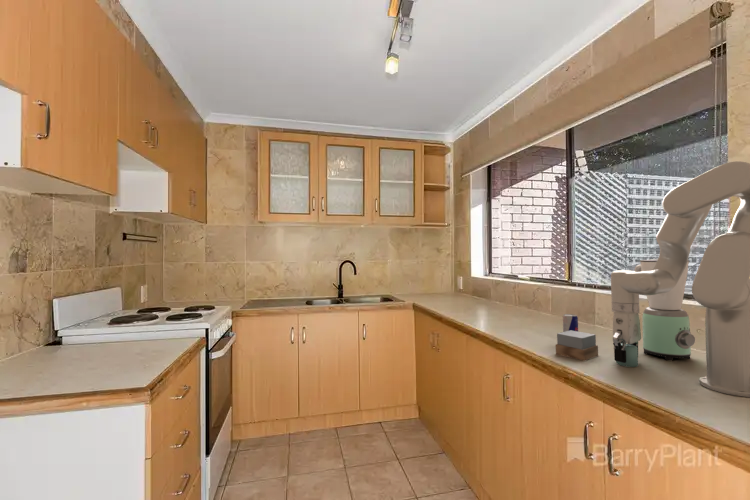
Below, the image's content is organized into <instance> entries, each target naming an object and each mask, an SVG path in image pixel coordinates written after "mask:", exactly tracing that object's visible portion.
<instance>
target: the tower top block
mask: <svg viewBox="0 0 750 500" xmlns="http://www.w3.org/2000/svg"><path fill="white" fill-rule="evenodd" d="M596 336H597V335H596V334H594V333H590V332H589V333H588V332H583V331H579V330H578V331H572V330H570V331H565V332H563V331H562V332H557V333H556V342H557V343H556V344H558V345H563V346H567V347H572V348H577V349H581V350H583V349H587V348H590V347H593V346H596V345H597V338H596Z"/></svg>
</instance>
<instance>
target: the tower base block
mask: <svg viewBox="0 0 750 500" xmlns="http://www.w3.org/2000/svg"><path fill="white" fill-rule="evenodd" d="M555 355H557V356H562V357H567V358H571V359H575V360H580V361H584V362H585V361H587V360H590V359H593V358H595V357H598V356H599V346H598V344H596V346H593V347H590V348H587V349H583V350H581V349H577V348H572V347H567V346H563V345H558V344H557V343H556V344H555Z"/></svg>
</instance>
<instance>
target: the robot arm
mask: <svg viewBox="0 0 750 500" xmlns="http://www.w3.org/2000/svg"><path fill="white" fill-rule="evenodd" d="M731 197H736V198H739V199H740V204H739V207H738V208H737V210H736V212H735V214H734V216H733V218H732V222H731V224H730V227H729V229H728V231H727V232H726V233H724V234H720V235H717V236H716V237H715V238H713V239H712V240H711V242H709V244H708V245H707V247H706V248H705V250H704V252H703V255H702V257H701V261H700V262H699V265H698V269H697V271H696V273H695V275H694V279H693V282H692V285H691V294H692V296H693V298H694V299H695V301H696V302H697V303H698V304H699V305H701V306H702V307H704V308H705V317H704V318H705V319H704V321H705V324H704V325H705V330H704V331H705V359H706V361H705V363H706V375H705V376H701V377H699V384H700V385H701V386H703V387H705V388H706V389H709V390H711V391H715V392H719V393H722V394H727V395H730V396H738V397H742V398H743V397H745V398H750V162H747V161H729V162H726V163H723V164H720V165H718V166H715V167H713V168H712V169H710V170H708V171H705V172H703V173H701V174H700V175H698V176H696V177H694V178H692V179H689V180H687V181H686V182H683V183H681V184H680V185H678V186H676V187H674V188H672V189H671V190H669V191H668V192H667V193H666V195H665V196H664V197H663V199H662V209H663V211H664V212H665V213H666V215H665V218H664V220H663V222H662V224H661V225H660V228H659V230H658V232H657V233H656V237H655V238H656V242H657V244H658V247H659V255H658V257H657V259H658V260H657V263H656V265H655V267H654V268H653V270H652V271H644V272H635V271H634V270H614V271H612V272H610V293H611V295H610V296H611V297H610V298H611V312H613V317H612V319H613V320H612V342H613V343H612V344H613V351H614V353H613V354H614V361H615V362H616V361H618V362H623V363H626V350H625V347H626V344H630V345H634V346H637V347H638V348H639V342H641V339H642V333H641V332H642V331H641V321H640V315H639V314H640V295H644V296H647V295H656V294H661V293H666V292H669V291H670V290H672V289H673V288H674V287H675V285H676V284H677V282H678V281H679V279H680V277H681V275H682V273H683V271H684V269H685V267H686V265H687V261H688V260H689V256H690V255H691V254H690V253H691V246H692V245H693V243H694V241H695V239H696V237H697V235H698V233H699V231H700V229H701V227H702V226H703V224H704V222H705V221H706V219H707V217H708V215H709V213H710V211H711V209H712V206H713V205H715V204H717V203H720V202H722V201H724V200H727V199H729V198H731ZM621 344H622V345H621Z"/></svg>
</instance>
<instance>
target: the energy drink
mask: <svg viewBox="0 0 750 500" xmlns="http://www.w3.org/2000/svg"><path fill="white" fill-rule="evenodd" d="M562 330H563V331H562V332H565V331H570V330H572V331H578V332H579V317H578V315H577V314H573V313H572V314H571V313H564V314H563V315H562Z"/></svg>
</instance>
